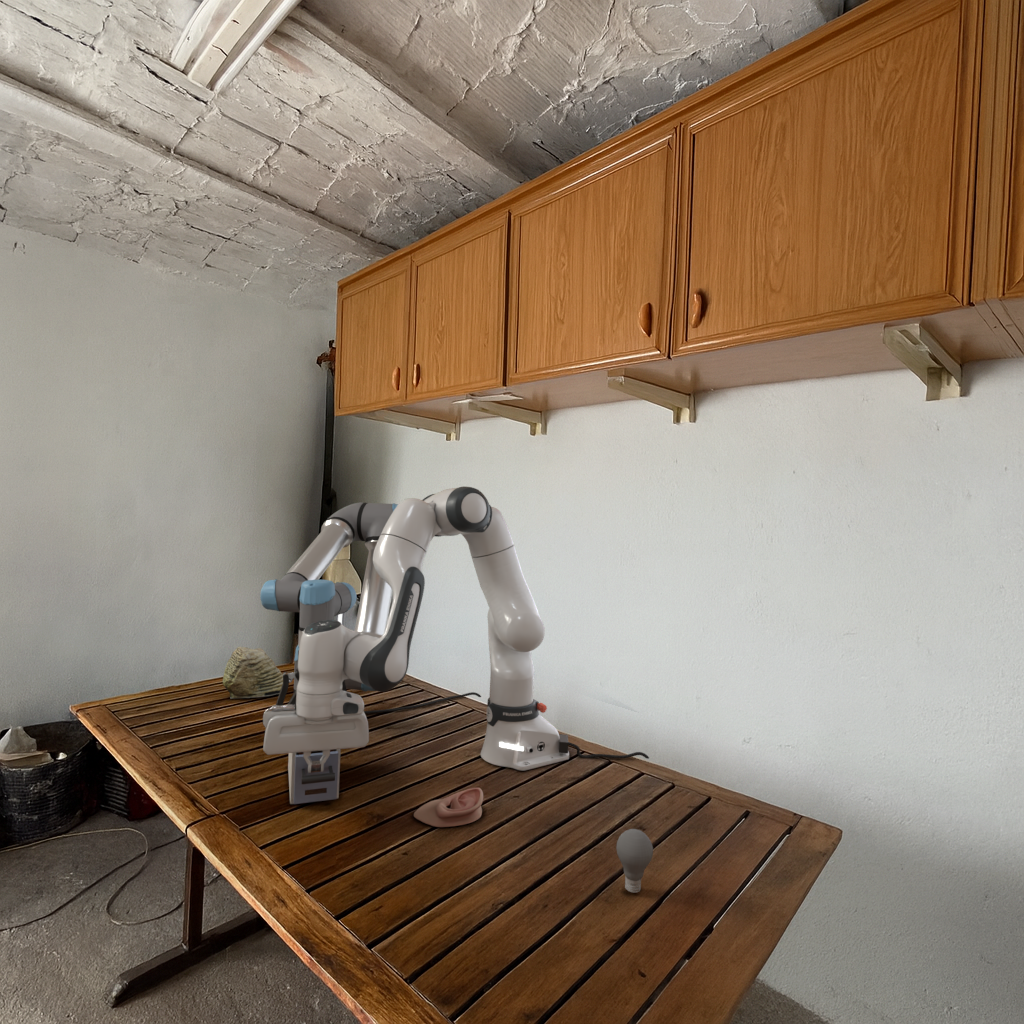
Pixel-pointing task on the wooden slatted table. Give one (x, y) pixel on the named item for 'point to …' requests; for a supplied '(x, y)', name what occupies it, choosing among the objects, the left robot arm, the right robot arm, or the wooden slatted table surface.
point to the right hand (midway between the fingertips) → (315, 771)
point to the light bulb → (634, 857)
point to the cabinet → (292, 774)
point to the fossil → (251, 674)
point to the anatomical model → (452, 809)
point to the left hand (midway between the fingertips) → (311, 744)
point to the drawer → (315, 779)
